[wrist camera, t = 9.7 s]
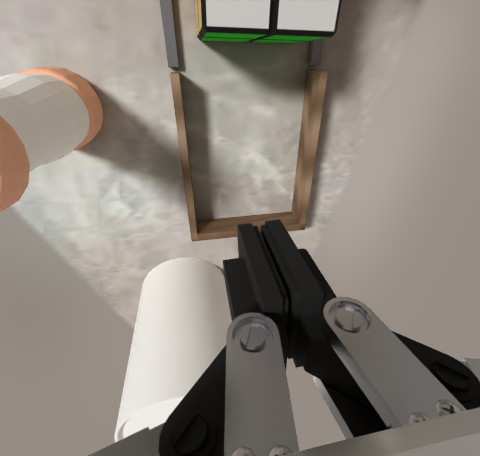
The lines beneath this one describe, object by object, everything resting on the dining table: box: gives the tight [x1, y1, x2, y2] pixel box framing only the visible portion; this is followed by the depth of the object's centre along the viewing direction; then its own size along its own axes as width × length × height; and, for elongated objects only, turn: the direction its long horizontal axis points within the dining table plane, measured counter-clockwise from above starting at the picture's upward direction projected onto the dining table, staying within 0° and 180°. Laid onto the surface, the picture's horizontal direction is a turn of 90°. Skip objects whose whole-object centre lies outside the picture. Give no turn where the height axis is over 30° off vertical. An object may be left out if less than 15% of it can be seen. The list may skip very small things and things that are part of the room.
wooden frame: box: [170, 70, 328, 241], centre depth 32 cm, size 19×16×4 cm
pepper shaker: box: [0, 67, 104, 211], centre depth 20 cm, size 7×7×19 cm
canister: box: [115, 258, 232, 442], centre depth 36 cm, size 14×14×20 cm
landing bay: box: [160, 0, 323, 67], centre depth 25 cm, size 10×16×1 cm, turn 90°
